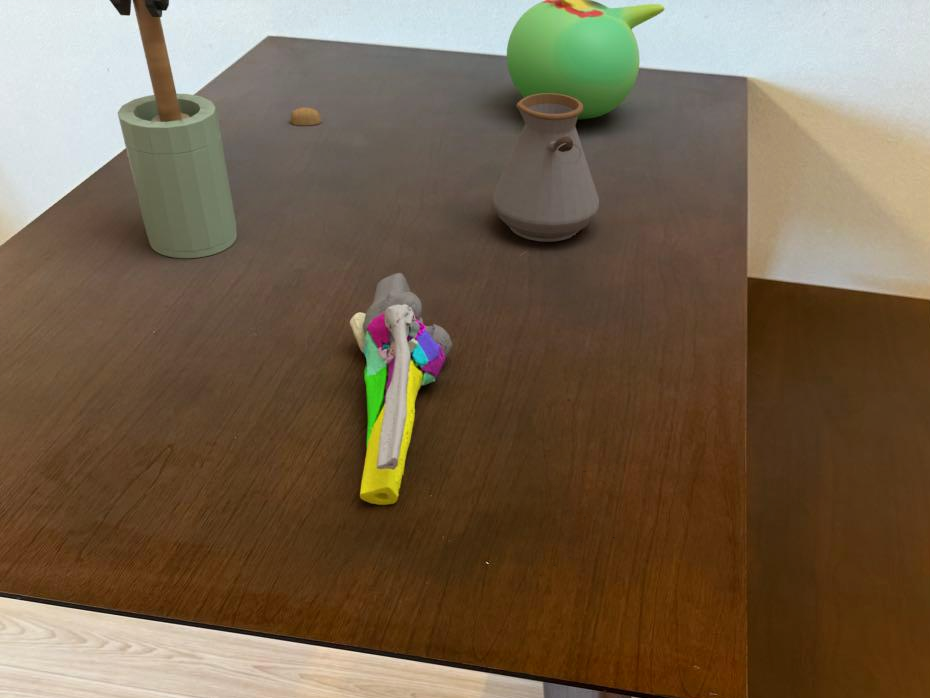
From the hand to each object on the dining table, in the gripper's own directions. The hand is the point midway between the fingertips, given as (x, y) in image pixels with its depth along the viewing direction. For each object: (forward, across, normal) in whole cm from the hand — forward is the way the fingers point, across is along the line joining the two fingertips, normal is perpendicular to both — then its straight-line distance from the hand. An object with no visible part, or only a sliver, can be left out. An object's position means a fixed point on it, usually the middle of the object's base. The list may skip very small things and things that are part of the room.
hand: (137, 10), depth 84 cm
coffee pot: (+13, +37, +19) cm, 43 cm away
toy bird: (-15, +40, +47) cm, 63 cm away
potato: (-9, +5, +41) cm, 42 cm away
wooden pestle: (+9, 0, +12) cm, 15 cm away
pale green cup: (+14, 0, +17) cm, 22 cm away
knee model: (+34, +24, -3) cm, 42 cm away
